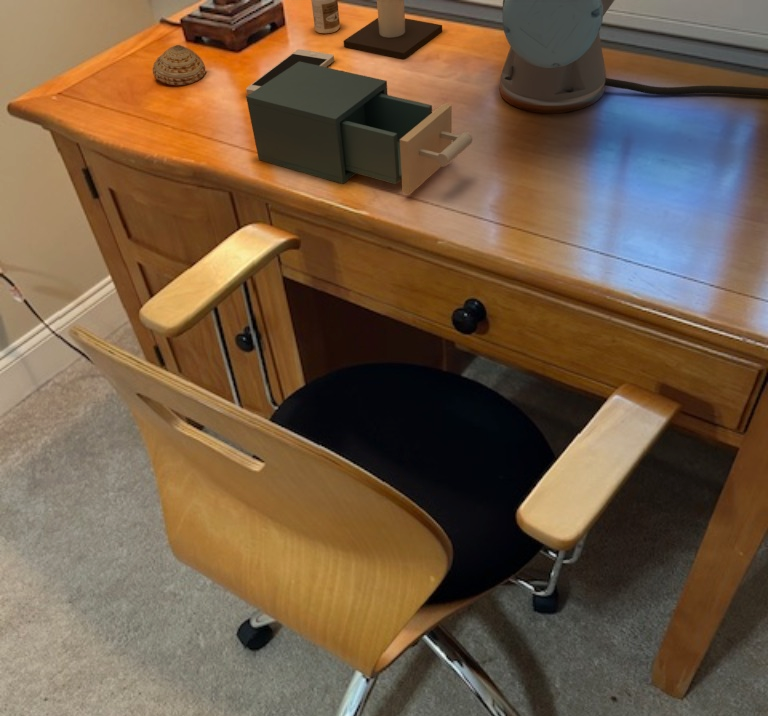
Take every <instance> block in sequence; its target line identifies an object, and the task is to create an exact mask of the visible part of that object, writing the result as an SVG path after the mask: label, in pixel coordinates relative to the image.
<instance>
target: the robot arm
mask: <svg viewBox="0 0 768 716" xmlns="http://www.w3.org/2000/svg"><path fill="white" fill-rule="evenodd" d="M614 2H615V0H502V7H501V8H502V9H501V13H502V26H503V27H502V28H503V32H504V35H505V38H506V41H507V43H508V44H509V50H508V53H507V55H506V59H505V62H504V65H503V67H502V70H501V73H500V77H499V78H500V79H499V93H500V96H501V97H502V99H503V100H504V101H505V102H507V103H508V104H510V105H511V106H513V107H515V108H517V109H521V110H525V111H528V112H534V113H543V114H556V113H557V114H558V113H568V112H573V111H574V112H575V111H578V110H581V109H584V108H586V107H589V106H591V105H593V104H595V103H596V102H598V101H599V99H601V98H602V97H603V95H604V93H605V89H606V87H610V88H617V89H621V90H622V89H623V90H629V91H634V92H638V93H642V94H643V93H644V94H649V95H659V96H677V95H695V94H696V95H697V94H718V95H719V94H721V95H743V96H755V97H768V88H765V87H749V86H734V85H690V86H689V85H687V86H665V87H664V86H655V85H646V84H642V83H638V82H633V81H627V80H620V79H615V78H607V73H606V72H607V71H606V66H605V60H604V53H603V48H602V41H601V36H600V31H601V28H602V24H603V18H604V16H605V14H606V13H607V11H609V9H610V8H611V6H612V4H613V3H614Z"/></svg>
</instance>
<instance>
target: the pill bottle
mask: <svg viewBox="0 0 768 716" xmlns="http://www.w3.org/2000/svg"><path fill="white" fill-rule="evenodd" d="M310 1H311V7H312V15H313V24H314V30H315V32H316V33H318V34H332V33H335V32H337V31H338V30H339V29H340V28H341V23H340V12H339V11H340V10H339V2H338V1H339V0H310Z"/></svg>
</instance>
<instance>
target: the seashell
mask: <svg viewBox="0 0 768 716" xmlns="http://www.w3.org/2000/svg"><path fill="white" fill-rule="evenodd" d="M205 74H206V66H205V62H204V61H203V59H202V58H201V56H199V54H197V53H196V52H195V51H193V50H192V49H190V48H188V47H186V46H184V45H181V44H176V45H173V46H171V47H169V48H167V49H166V50H165V51H164V52H163V53H162V54H161V55H159V56H158V57H157V58H156V60H155V61H154V63H153V66H152V75H153V76H154V77H155V79H156V80H158V81H159V82H161V83H163V84H167V85H171V86H186V85H190V84H193V83H196V82H199V80H201V79H202V78H203V77H204V76H205Z"/></svg>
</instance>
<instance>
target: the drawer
mask: <svg viewBox="0 0 768 716" xmlns="http://www.w3.org/2000/svg"><path fill="white" fill-rule="evenodd" d="M452 112H453V111H452V104H449V103H444V102H443V103H442V104H441V105H440V106H438V107H437V108H435V110H434V111H433V106H432V104H429V103H424V102H419V101H415V100H411V99H407V98H403V97H398V96H393V95H390V94H388V95H386V94H381V93H378V94H377V95H376V96H374V97H373V98H372V99H370V100H369V101H368V102H366V103H365V104H364V105H362V106H361V107H360V108H358V109H357V110H356V111H354V112H353V113H352V114H350V115H349V116H348V117H346V118H345V119H344V120H343V121H341V122H340V129H341V138H342V147H343V156H344V164H345V170H347V171H350V172H354V173H356V174H357V175H361V176H365V177H369V178H371V179H376V180H378V181H383V182H386V183H390V184H393V185H398V184H399V183H400V182H401V189H402V193H405V194H408V195H411V194H412V193H413V192H415V190H416V189H418V188H419V187H420V186H421V185H422V184H424V182H425V181H427V180H428V179H429V178H430V177H431V176H432V175H433V174H435V172H437V171H438V170H439V169H440V168H441V167H447V166H448V165H449V164H450V163H451V162H452V161H453V160H454V159H456V158H457V157H458V156H459V155H461V153H462V152H463V151H464V150H466V149H467V148H469V146H470V145H471V144H472V142H473V136H472V134H471V133H470V132H468V131H463V132H462V133H461V134H456V133H452V131H453V130H452V129H453V128H452V127H453V126H452V124H453V122H452V120H453V119H452V118H453V117H452V114H453V113H452Z"/></svg>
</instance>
